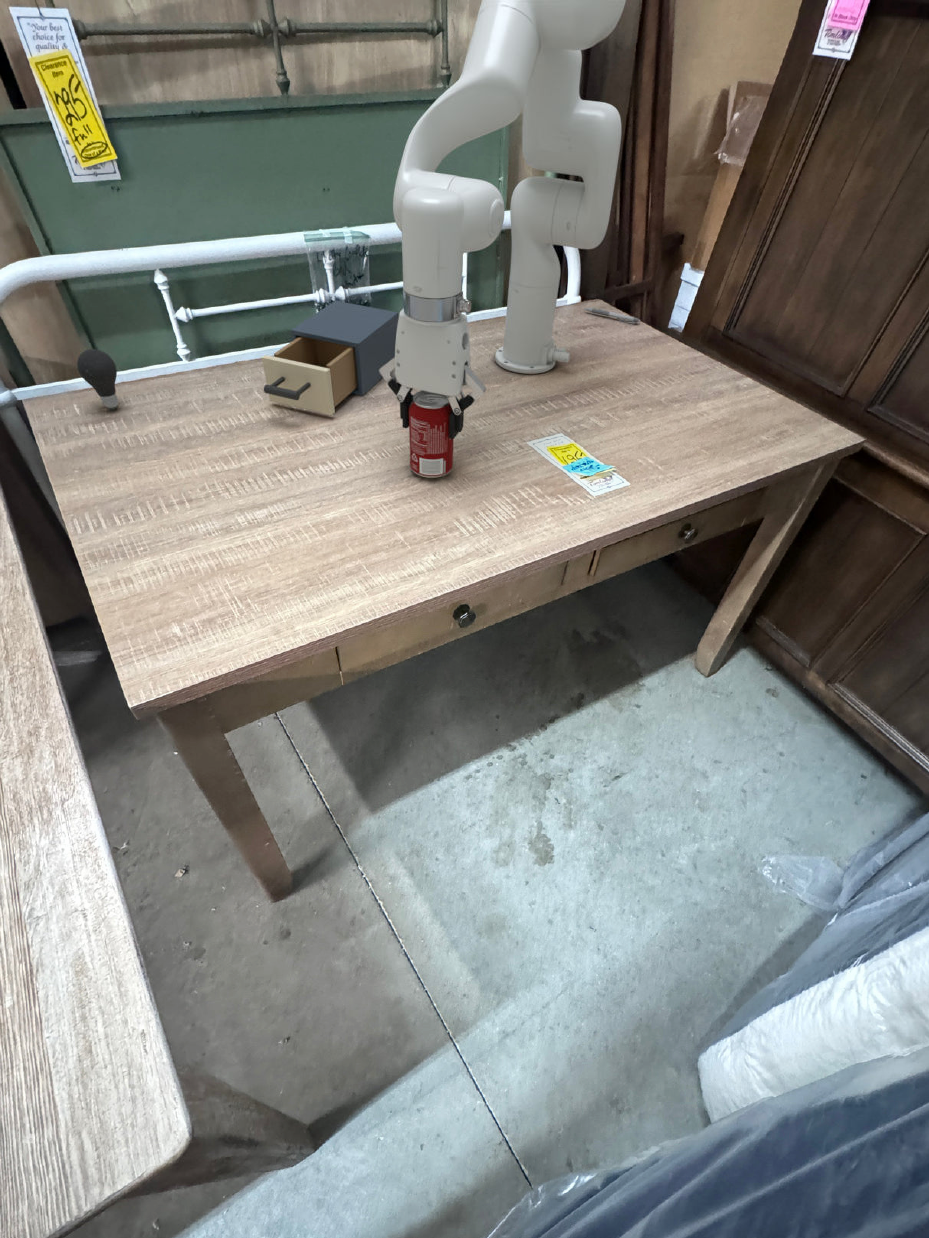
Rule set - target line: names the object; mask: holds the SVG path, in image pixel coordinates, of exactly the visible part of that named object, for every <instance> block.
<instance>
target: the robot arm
mask: <svg viewBox="0 0 929 1238" xmlns="http://www.w3.org/2000/svg"><path fill="white" fill-rule="evenodd" d="M626 2H627V0H481V2H480V6H479V9H478V13H477V17H476V21H475V24H474V28H473V30H472V35H471V37H470V42H469V45H468V49H467V52H466V56H465V60H464V64H463V67H462V71H461V74H460V76H459V78H458V80H456V82H454V84H452V85H451V86H450V87H449V88H447V89H446V90H445V91H444V92H443V93H442V94H441V95H439V97H438V98H437V99H436V100H435V101H434V102H433V103H432V104H431V105H430V107H428V109H427V110H426V111H425V112H424V113H423V114H422V116H421V117H420V118H419V119H418V120H417V122H416V124H415V125H414V126H413V128H412V129H411V130H410V131H411V132H410V134H409V136H408V138H407V140H406V143H405V146H404V150H403V152H402V157H401V161H400V163H399V166H398V170H397V175H396V179H395V184H394V190H393V198H392V214H393V218H394V222H395V224H396V226H397V229H398V230H399V231H400V232H401V253H402V255H401V256H402V257H401V258H402V301H403V303H402V304H403V308H402V309H401V310H400V312H399V313H398V318H399V319H398V325H397V333H396V343H395V357H394V358H392V359H391V360H390V361H388V362H387V363H386V364H385V365H383V366H382V367H381V368H380V369H379V372H380V374H381V375H382V376H383V378H382V379H384V381H385V382H386V383H387V386H388V387H389V389H390V390H391V392H393V394H395V399H396V401H397V402H398V403H399V418H400V419H401V421H402V428H403V429H409V407H410V405H411V403H412V402H413V396H414V394H413V393H412V392H413V390H417V391H421V390H422V391H427V392H431V393H436V394H441V395H446V396H447V398H448V400H449V403H450V405H451V407H452V412H451V413H450V415H449V437H450V439H454V440H455V438H456V437H457V436H458V434H459V433H461V432H462V431H463V429H464V418H465V410H467V409H468V408H470V407H471V406H472V405H473V404H474V403H475V402H477V400H479V399H480V398H481V397H482V396H483V395H484V393H485V392H486V391H487V387H486V385H484V383H483V382H482V381H481V380H480V378H479V377H478V376H477V375H476V374H475V373H474V372H473V370H472V364H471V363H472V361H471V359H472V358H471V357H472V355H471V340H470V330H469V323H468V317H467V315H466V314H463V313H468V314H469V313H470V312H471V310H472V301H471V300H467V299H466V298H464V291H463V290H462V289H463V263H464V258H463V257H464V254H466V253H472V252H477V251H482V250H484V249H486V248H487V247H490V246H491V245H492V244H493V243H494V242H495V240H496V239H497V238H498V236H499V234H500V233H501V231H502V229H503V226H504V221H505V203H504V198H503V196H502V193H501V192H500V190H499V189H498V188H497V187H496V186H495V185H494V184H492V183H490V182H488V181H486V180H483V179H478V178H471V177H465V176H459V175H454V174H449V173H448V174H447V173H441V172H436V170H437V169H438V167H439V165H440V164H441V162H442V161H443V160H444V159H445V158H446V157H447V156H448V155H449V154H450V153H451V152H452V151H454V150H456V149H457V148H459V147H461V146H462V145H465V144H467V143H468V142H471V141H473V140H476V139H478V138H481V137H483V136H486V135H489V134H490V133H493V132H496V131H498V130H500V129H502V128H505V127H506V126H509V125H510V124H512V123H513V122H515V121H517V119H518V117H519V116H520V115H521V113H522V131H521V132H522V133H521V147H522V148H521V149H522V150H521V151H522V157H523V159H524V162H525V163H526V165H527V166H529V167H530V168H532V169H535V170H539V171H542V172H543V171H544V172H549V173H556V174H561V175H570V176H575V177H581V179H582V180H583V181H575V180H570V179H569V180H568V179H564V178H558V177H550V176H529V177H526V178H524V179H522V180H521V181H519V182H518V183H517V184H516V186H515V188H514V189H513V192H512V193H511V194H512V195H511V199H510V208H509V212H510V215H509V217H510V230H511V253H510V266H509V267H510V270H509V279H508V280H509V281H508V292H507V301H506V302H507V303H506V304H507V305H506V313H505V323H504V324H505V325H504V336H503V346H501V347H499V348H498V349H497V350H496V351H495V355H494V361H495V362H496V364H497V365H498V366H499V367H501V368H502V369H505V370H506V371H510V372H513V373H518V374H527V375H528V374H529V375H535V374H542V373H546V372H549V371H550V370H552V369H553V368H554V367H555V365H556V361H557V362H559V363H562V364H563V363H564V364H569V361H570V358H571V353H570V352H568V348H565V347H564V348H563V347H557V345H555V340H556V339H555V338H554V337H552V336H553V329H554V322H555V315H556V308H557V301H558V295H559V294H558V293H559V288H560V280H561V264H560V260H559V257H558V254H557V252H556V250H555V248H554V246H562V247H566V248H567V247H568V248H573V249H579V250H593V249H595V248H597V247H598V246H599V245H601V243H602V242H603V241H604V239H605V236H606V233H607V231H608V226H609V222H610V217H611V211H612V204H613V203H612V202H613V198H614V190H615V184H616V179H617V178H616V177H617V171H618V165H619V164H618V163H619V158H620V151H621V141H622V118H621V114H620V112H619V110H618V109H617V108H616V107H615V106H614V105H612V104H610V103H607V102H603V101H595V100H588V99H587V100H586V99H582V98H581V96H580V84H581V75H582V74H581V73H582V63H583V55H582V51H585V50H587V49H591V48H592V47H594V46H596V44H598V43H600V42H602V41H604V39H606V38H607V37H609V36H610V34H612V33H613V31H614V29H616V27H617V25H618V23H619V21H620V20H621V17H622V15H623V12H624V8H625V5H626ZM463 386H468V387H469V388H470V390H471V391H470V392H469V393H468V394H467V395H466V396H465V393H464V390H463V388H462V387H463Z"/></svg>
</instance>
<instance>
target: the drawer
mask: <svg viewBox="0 0 929 1238" xmlns="http://www.w3.org/2000/svg"><path fill="white" fill-rule="evenodd" d="M261 361H262V366H263V371H264V377H265V383H266V384H265V385H264V387H263V392H264V394H266V395H268V397H269V401H270V402H273V403H278V404H281V405H285V406H289V407H294V408H299V409H302V410H306V411H311V412H315V413H320V414H323V415H324V414H325V415H329V416H333V415H334V414H335V413H336V411H335V410H336V409H335V407H337V406H338V405H339V404H340V403H341V402H342V401H343V400H345V399H346V398H347V397H348V396H349V395H350V394H352V393H351V392H352V391H353V390H355V389H356V388H357V387H358V378H357V366H356V354H355V347H351V346H346V345H341V344H336V343H332V342H327V341H322V340H317V339H312V338H307V337H302V336H299V337H298V338H296V339H295V340H294V341H290V342H289V343H288V344H286V345H284V346H283V347H282V348H280V349H278V350H277V351H275V352H274V353H273V356H272V355H268V354H264V355H263V356H262V357H261Z"/></svg>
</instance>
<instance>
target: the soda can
mask: <svg viewBox="0 0 929 1238" xmlns="http://www.w3.org/2000/svg"><path fill="white" fill-rule="evenodd" d="M413 395H414V396H413V402H412V403H411V405H410V407H409V427H408V435H409V436H408V438H409V468H410V470H411V471H412V472H413V473H414V474H416V475H417V476H420V477H423V478H427V479H437V478H441V477H444V476H447V475H448V474H450V473H451V472H452V470H453V468H454V467H453V466H454V440H455V438H454V439H450V437H449V415H450V413H451V412H452V407H451V405H450V403H449V400H448V398H447V396H446V395H441V394H436V393H431V392H427V391H422V390H418V391H417V392H415V393H414V394H413Z"/></svg>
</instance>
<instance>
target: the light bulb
mask: <svg viewBox="0 0 929 1238" xmlns="http://www.w3.org/2000/svg"><path fill="white" fill-rule="evenodd" d="M76 365H77V366H76V367H77V370H78V373H79V375H80V376H81V377H82V380H84V381H85V382H86V383H87V384H89V386H91V387H92V389H94V391H95V393H96V394H97V395H98V396H99V398H100V400H101V403H102V405H103V406H104V407H105V408H107V409H110V410H115V409H117V407H118V405H119V403H120V402H119V398H118V396H117V393H116V392H117V390H116V380H117V376H118V371H117V370H118V369H117V365H116V363H115V360H113V358H112V357H111V356H110V355H109V354H108V353H106V352H104V351H102V350H100V349H96V348H90V349H85V350H84V351H82V352H81V353H80V355H79V356H78V358H77V362H76Z"/></svg>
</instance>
